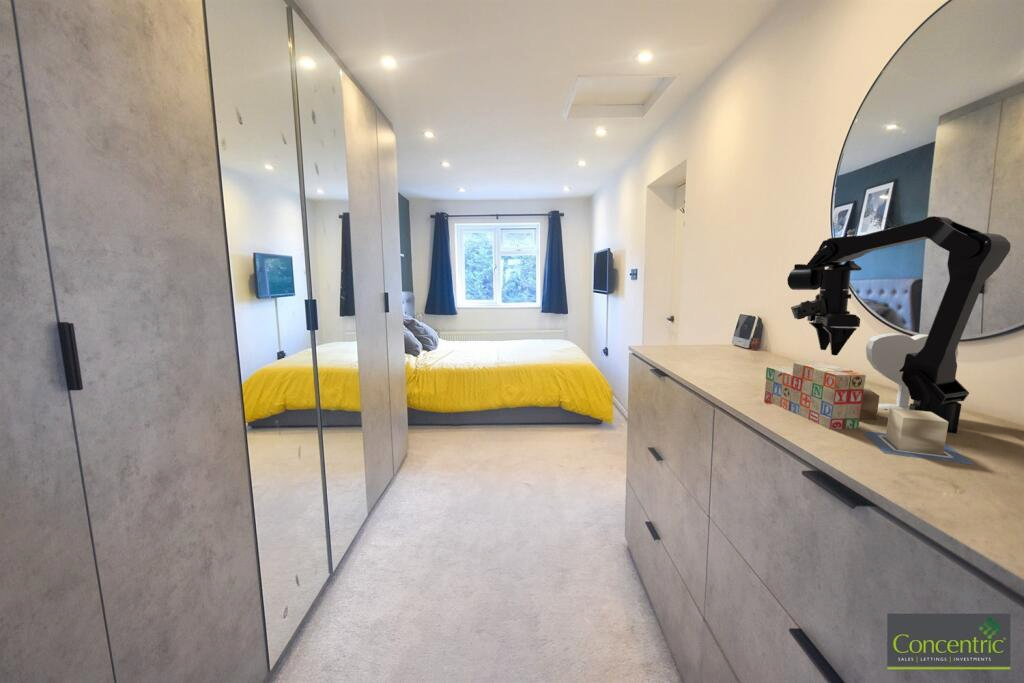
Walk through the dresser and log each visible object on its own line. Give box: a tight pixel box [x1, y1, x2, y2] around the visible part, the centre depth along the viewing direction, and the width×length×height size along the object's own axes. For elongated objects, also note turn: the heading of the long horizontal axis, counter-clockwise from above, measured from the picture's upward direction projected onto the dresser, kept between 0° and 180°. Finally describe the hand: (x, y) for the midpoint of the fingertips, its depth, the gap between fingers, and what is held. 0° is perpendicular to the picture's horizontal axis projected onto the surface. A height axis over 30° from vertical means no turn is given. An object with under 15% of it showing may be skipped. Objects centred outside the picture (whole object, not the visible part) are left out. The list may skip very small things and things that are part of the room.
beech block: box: [885, 408, 948, 455], centre depth 76 cm, size 6×6×6 cm
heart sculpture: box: [865, 332, 959, 410], centre depth 99 cm, size 16×5×18 cm, turn 67°
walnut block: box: [859, 388, 880, 420], centre depth 95 cm, size 6×6×6 cm
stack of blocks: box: [763, 361, 867, 430], centre depth 95 cm, size 21×6×12 cm, turn 3°
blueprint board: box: [860, 430, 977, 466], centre depth 77 cm, size 12×12×1 cm
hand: (828, 352), depth 105 cm, fingers open, 9 cm apart
